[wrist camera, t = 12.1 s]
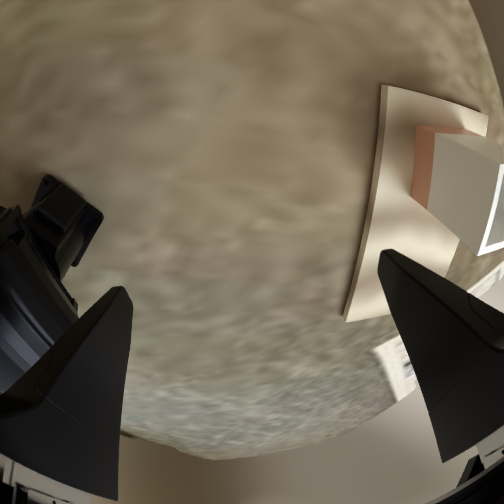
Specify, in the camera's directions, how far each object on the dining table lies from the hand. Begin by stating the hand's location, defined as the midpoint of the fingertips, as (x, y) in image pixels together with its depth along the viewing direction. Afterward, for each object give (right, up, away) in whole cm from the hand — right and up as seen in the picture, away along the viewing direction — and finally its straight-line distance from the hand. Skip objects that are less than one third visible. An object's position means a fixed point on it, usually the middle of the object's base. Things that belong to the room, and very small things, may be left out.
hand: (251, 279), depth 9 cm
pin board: (+16, +4, +15) cm, 22 cm away
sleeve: (+16, +9, +10) cm, 21 cm away
